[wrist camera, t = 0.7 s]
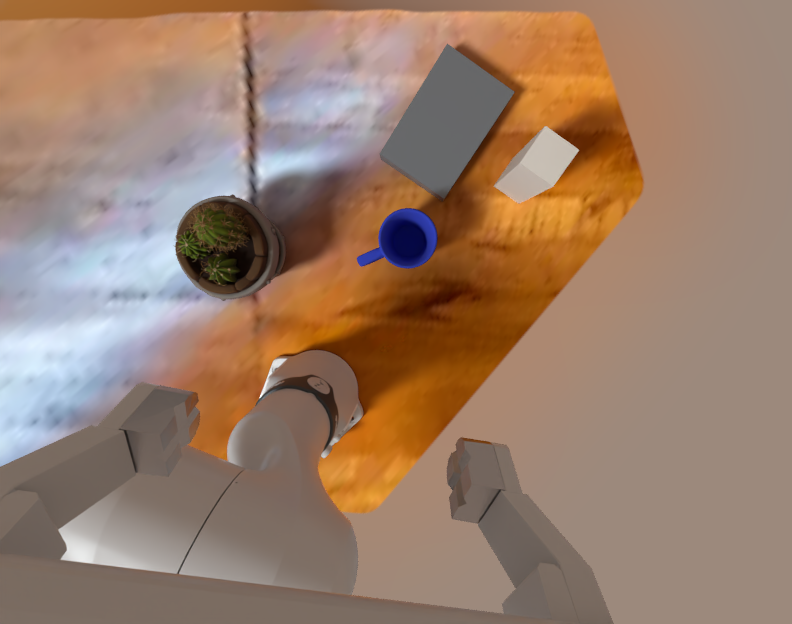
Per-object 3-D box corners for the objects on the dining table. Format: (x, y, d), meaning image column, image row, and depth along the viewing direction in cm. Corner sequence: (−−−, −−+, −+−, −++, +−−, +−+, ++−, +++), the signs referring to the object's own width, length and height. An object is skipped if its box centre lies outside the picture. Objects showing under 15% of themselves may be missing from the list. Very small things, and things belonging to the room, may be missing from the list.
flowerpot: (260, 310, 61) (187, 336, 41) (197, 246, 60) (90, 242, 40) (317, 253, 59) (268, 251, 39) (252, 185, 58) (168, 149, 38)
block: (518, 203, 56) (553, 186, 42) (493, 186, 56) (519, 162, 42) (537, 176, 55) (579, 150, 41) (512, 158, 55) (545, 125, 41)
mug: (355, 239, 58) (343, 235, 48) (421, 207, 57) (422, 197, 47) (376, 283, 59) (368, 289, 49) (441, 253, 58) (446, 253, 48)
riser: (442, 201, 56) (444, 198, 53) (381, 159, 56) (379, 154, 53) (509, 101, 54) (514, 91, 51) (445, 55, 53) (447, 43, 50)
